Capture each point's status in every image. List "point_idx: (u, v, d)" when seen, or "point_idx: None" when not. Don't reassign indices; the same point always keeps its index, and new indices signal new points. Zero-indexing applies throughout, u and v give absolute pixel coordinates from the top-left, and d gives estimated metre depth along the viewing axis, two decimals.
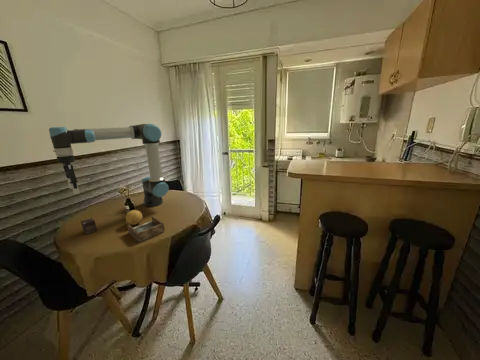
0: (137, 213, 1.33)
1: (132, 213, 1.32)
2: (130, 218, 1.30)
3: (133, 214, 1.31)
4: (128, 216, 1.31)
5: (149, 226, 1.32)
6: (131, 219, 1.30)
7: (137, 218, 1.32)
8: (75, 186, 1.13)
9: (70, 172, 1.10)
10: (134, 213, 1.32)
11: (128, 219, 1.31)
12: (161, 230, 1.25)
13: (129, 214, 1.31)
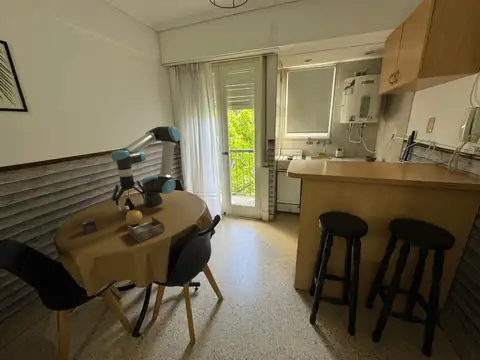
0: (137, 213, 1.33)
1: (132, 213, 1.32)
2: (130, 218, 1.30)
3: (133, 214, 1.31)
4: (128, 216, 1.31)
5: (149, 226, 1.32)
6: (131, 219, 1.31)
7: (137, 218, 1.32)
8: (116, 203, 1.25)
9: (114, 190, 1.24)
10: (134, 213, 1.32)
11: (128, 219, 1.31)
12: (161, 230, 1.25)
13: (129, 214, 1.31)
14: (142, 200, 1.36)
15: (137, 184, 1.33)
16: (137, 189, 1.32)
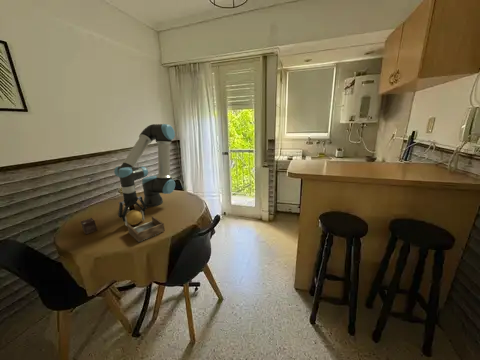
0: (137, 213, 1.33)
1: (132, 213, 1.32)
2: (129, 218, 1.30)
3: (133, 214, 1.31)
4: (128, 216, 1.31)
5: (149, 226, 1.32)
6: (131, 219, 1.30)
7: (137, 218, 1.32)
8: None
9: (119, 207, 1.28)
10: (134, 213, 1.32)
11: (127, 219, 1.31)
12: (161, 230, 1.25)
13: (129, 214, 1.31)
14: (143, 216, 1.38)
15: None
16: (139, 205, 1.35)
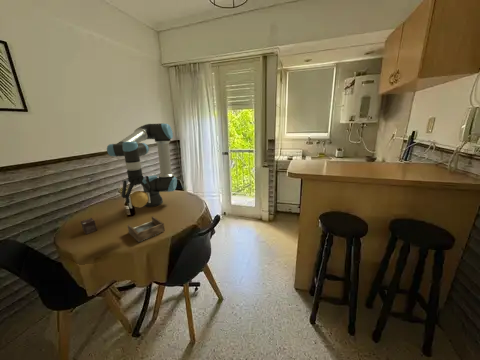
0: (142, 194, 1.19)
1: (137, 193, 1.17)
2: (134, 199, 1.16)
3: (138, 195, 1.17)
4: (132, 197, 1.16)
5: (149, 226, 1.32)
6: (135, 200, 1.16)
7: (142, 199, 1.17)
8: (126, 201, 1.16)
9: (123, 186, 1.13)
10: (139, 194, 1.17)
11: (132, 200, 1.16)
12: (161, 230, 1.25)
13: (133, 195, 1.17)
14: (149, 199, 1.24)
15: (145, 180, 1.22)
16: (145, 186, 1.21)
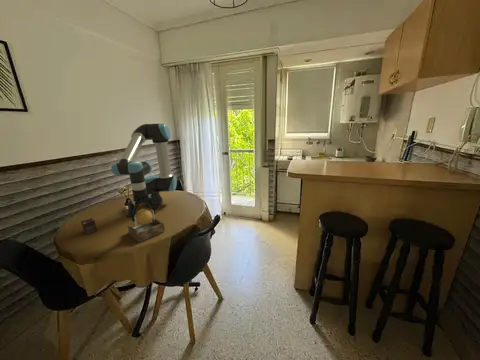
0: (147, 212, 1.22)
1: (142, 212, 1.20)
2: (139, 218, 1.19)
3: (143, 213, 1.20)
4: (138, 215, 1.19)
5: (149, 226, 1.32)
6: (141, 219, 1.19)
7: (147, 218, 1.21)
8: (132, 219, 1.19)
9: (128, 206, 1.16)
10: (144, 212, 1.21)
11: (137, 219, 1.19)
12: (161, 230, 1.25)
13: (139, 213, 1.20)
14: (154, 216, 1.27)
15: (150, 198, 1.25)
16: (149, 204, 1.24)
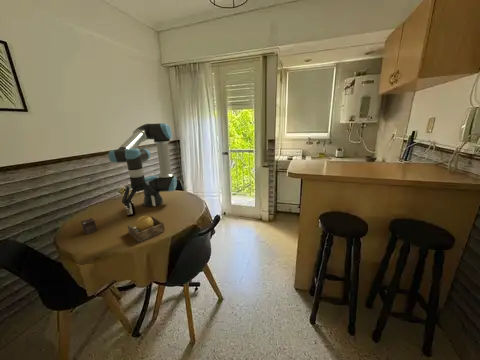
0: (148, 219, 1.23)
1: (143, 220, 1.21)
2: (140, 225, 1.20)
3: (144, 221, 1.21)
4: (138, 223, 1.21)
5: None
6: (142, 226, 1.20)
7: (148, 225, 1.22)
8: (127, 206, 1.15)
9: (125, 192, 1.14)
10: (145, 220, 1.22)
11: (138, 226, 1.20)
12: (161, 230, 1.25)
13: (139, 221, 1.21)
14: (154, 202, 1.26)
15: (148, 185, 1.23)
16: (149, 190, 1.22)
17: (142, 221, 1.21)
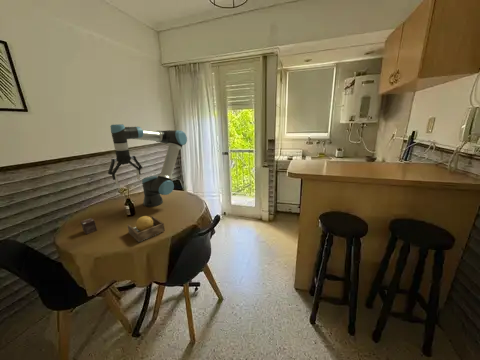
0: (148, 219, 1.23)
1: (143, 220, 1.21)
2: (140, 225, 1.20)
3: (144, 221, 1.21)
4: (138, 223, 1.21)
5: None
6: (142, 226, 1.20)
7: (148, 225, 1.22)
8: None
9: None
10: (145, 220, 1.22)
11: (138, 226, 1.20)
12: (161, 230, 1.25)
13: (139, 221, 1.21)
14: (139, 176, 1.37)
15: (133, 159, 1.34)
16: (133, 164, 1.33)
17: (142, 221, 1.21)
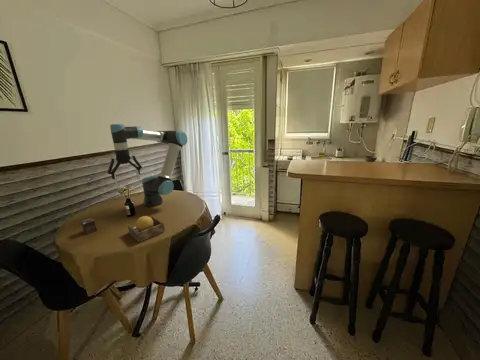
0: (148, 219, 1.23)
1: (143, 220, 1.21)
2: (140, 225, 1.20)
3: (144, 221, 1.21)
4: (138, 223, 1.21)
5: None
6: (142, 226, 1.20)
7: (148, 225, 1.22)
8: (112, 177, 1.27)
9: (110, 164, 1.25)
10: (145, 220, 1.22)
11: (138, 226, 1.20)
12: (161, 230, 1.25)
13: (139, 221, 1.21)
14: (138, 175, 1.37)
15: (133, 159, 1.34)
16: (133, 164, 1.33)
17: (142, 221, 1.21)
